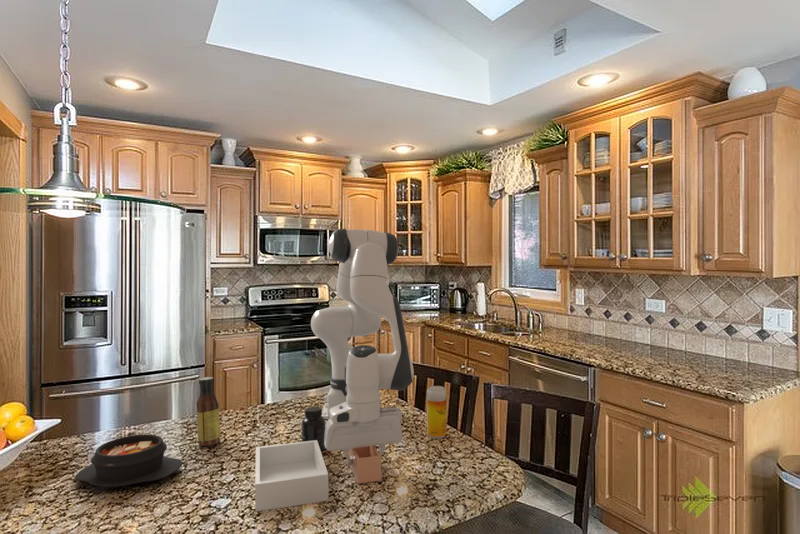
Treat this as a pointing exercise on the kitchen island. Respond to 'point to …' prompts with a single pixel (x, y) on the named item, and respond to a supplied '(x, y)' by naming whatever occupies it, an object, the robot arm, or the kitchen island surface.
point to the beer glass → (436, 412)
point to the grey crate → (290, 475)
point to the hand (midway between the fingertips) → (363, 462)
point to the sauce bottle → (207, 414)
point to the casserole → (129, 462)
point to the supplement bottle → (314, 426)
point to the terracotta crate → (366, 464)
